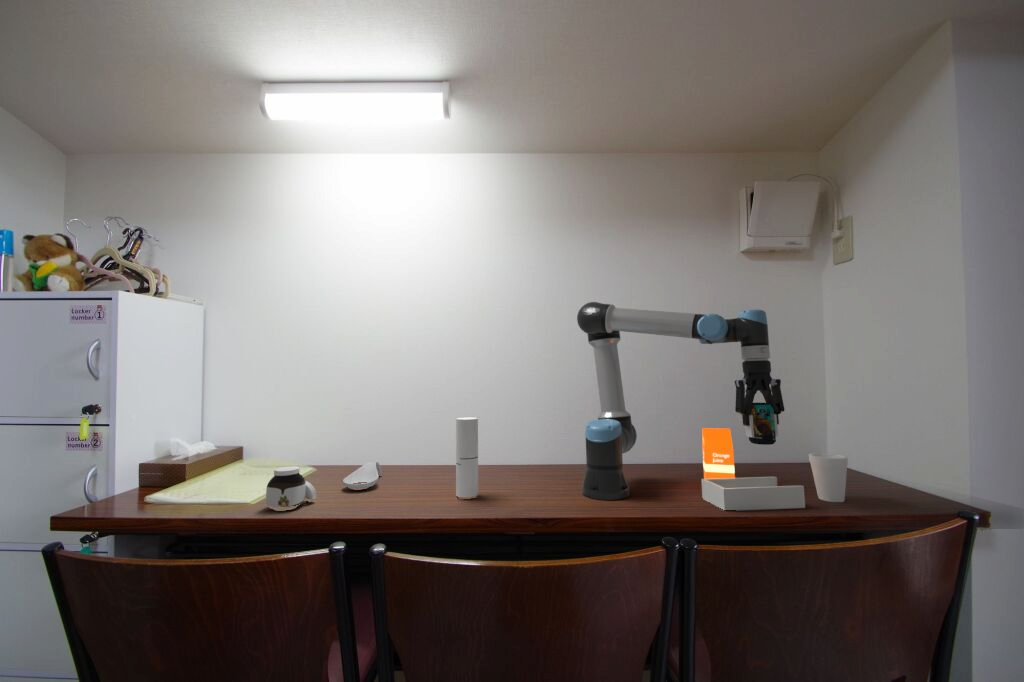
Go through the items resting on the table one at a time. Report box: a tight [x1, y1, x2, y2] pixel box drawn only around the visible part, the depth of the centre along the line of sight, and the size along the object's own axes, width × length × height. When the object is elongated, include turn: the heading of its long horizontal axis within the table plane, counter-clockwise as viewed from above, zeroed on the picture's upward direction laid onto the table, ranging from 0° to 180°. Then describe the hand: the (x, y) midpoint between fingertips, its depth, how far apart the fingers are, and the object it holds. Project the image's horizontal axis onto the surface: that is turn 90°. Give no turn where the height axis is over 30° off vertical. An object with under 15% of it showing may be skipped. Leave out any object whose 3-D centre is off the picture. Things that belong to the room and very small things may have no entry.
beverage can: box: [748, 402, 777, 446], centre depth 127 cm, size 7×7×12 cm
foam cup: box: [808, 452, 849, 503], centre depth 128 cm, size 10×9×13 cm
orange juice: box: [701, 427, 736, 479], centre depth 142 cm, size 8×9×20 cm
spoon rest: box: [342, 461, 383, 489], centre depth 153 cm, size 24×12×7 cm, turn 2°
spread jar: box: [265, 465, 317, 507], centre depth 128 cm, size 12×11×12 cm
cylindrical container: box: [455, 417, 479, 497], centre depth 136 cm, size 7×7×25 cm
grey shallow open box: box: [700, 476, 806, 511], centre depth 125 cm, size 24×12×6 cm, turn 94°
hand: (761, 436), depth 126 cm, fingers closed on beverage can, 7 cm apart
